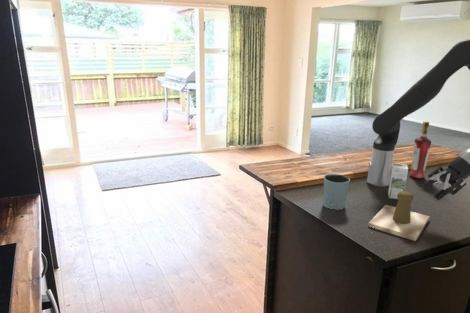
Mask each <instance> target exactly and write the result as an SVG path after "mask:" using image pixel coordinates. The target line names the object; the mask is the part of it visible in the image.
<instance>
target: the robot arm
mask: <svg viewBox="0 0 470 313" xmlns="http://www.w3.org/2000/svg"><path fill="white" fill-rule="evenodd" d="M463 67H464V68H465V67H467V69H468V70H469V71H470V39H468V38H467V39H462V40H460V41H458V42H456V43H455V44H454V45H453V46H452V48H450V49H449V51H448V52H447V53H446V54H445V55H444V56H443V57H442V58H441V59H440V60H439V61H438V62H437V63H436V64H435V66H433V67H432V68H431V69H430V70H429V71H428V72H426V74H424V75H423V76H422V77H421V78H420V79H419V80H418V81H416V82H415V83H414V84H413V85H412V86H411V87H410V88H409V89H407V91H406V92H404V93H403V94H402V95H401V96H400V97H399V98H398V99H397V100H396V101H395V102H394V103H393V104H392V105H391V106H390V107H387V109H385V110H384V111H383V112H382V113H380V114H378V115H377V116H376V117H375V118H374V120H373V122H372V124H371V125H372V127H371V128H372V131H373V133H375V134H376V135H378V136H377V138H376V139H374V141H373V144H372V151H371V152H372V153H371V159H370V163H369V164H368V171H367V179H366V183H368V184H370V185H372V186H375V187H381V188H382V187H389V184H390V178H391V171H392V165H393V161H394V160H393V159H394V153H395V148H396V145H397V143H398V140H399V135H400V130H401V121H402V120H403V119H404V118H406V117H407V116H409V115H412V114H413V113H414V112H416V111H418V110H420V109H421V108H423V107H424V106H426V105H427V104H428V103H430V102H431V101H433V99H435V97H437V95H439V94H440V92H441V90H442V89H443V88H444V85H445V84H446V82H447V81H448V80H449V79H450V77H452V76H453V75H455V74H456V73H457V72H458V71H460V70H461V69H462V68H463ZM447 166H448V167H447V168H444V167H443V166H438V167H437V168H436V169H434V170H433V171H432V172H430V173H429V174H428V175H427V177H428V179H427V181H426V182H424V183H423V184H422V185H421V189H423V190H424V191H428V190H429V189H430V188H432V186H434V185H435V184H438V183H439V184H444V186H443V188H441V189H440V190H438V192H436V193H435V194H434V195H433V197H434V199H435V200H437V201H440V200H442V199H443V198H444V197H445V196H447V195H452V196H454V195H456V194H457V193H458V192H459V191H460V190H462V189H463V188H464V187H466V185H467V182H466V181H465V180H467V179H469V177H470V147H469V148H466V149H465V150H464V151H462V152H461V153H460V154H459V155H457V157H454V159H452V160H451V161H450V162H449V163H448V164H447Z"/></svg>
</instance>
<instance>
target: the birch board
mask: <svg viewBox="0 0 470 313" xmlns="http://www.w3.org/2000/svg"><path fill="white" fill-rule="evenodd" d="M395 209H396V206H392V205H388V204H385V205H384V206H383V207H382V208H381V209H380V210H379V211H378V212H377V213H376V215H374V217H372V219H371V220H370V221H369V222H368V224H367V226H369V228H371V227H372V228H371V229H374V228H375V230H379V231H381V232H384V233H388V234H391V235H393V236H398V237H401V238H405V239H408V240H410V241H413V242H416V241H417V240H418V238H419V237H420V235H421V234H422V232H423V230H424V229H425V227H426V225H427V224H428V222H429V220H430V215H426V214H423V213H420V212H414V211H411V214H410V223H408V224H401V223H397V222H395V221H394V220H393V215H394V212H395Z"/></svg>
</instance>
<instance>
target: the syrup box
mask: <svg viewBox="0 0 470 313" xmlns="http://www.w3.org/2000/svg"><path fill="white" fill-rule="evenodd" d="M408 174H409V167H408V164H402V163H392V168H391V175H390V182H389V185H388V190H387V194H388V199H391V200H396V201H398V198H397V195H398V193H399V192H400V191H406V185H407V178H408Z"/></svg>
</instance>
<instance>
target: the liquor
mask: <svg viewBox="0 0 470 313" xmlns="http://www.w3.org/2000/svg"><path fill="white" fill-rule="evenodd" d="M429 126H430V121H422V129H421V131H420V132H421V133H420V137H417V138H414V144H413V150H412V161H411V167H410V168H411V169H410V173H409V175H410V177H412V179H417V180H418V179H419V180H420V179H423V178H424V177H426V175H425V172H426V168H427V162H428V159H429V154H430V150H431V146H432V140H431V139H430V138H428V129H429Z"/></svg>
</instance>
